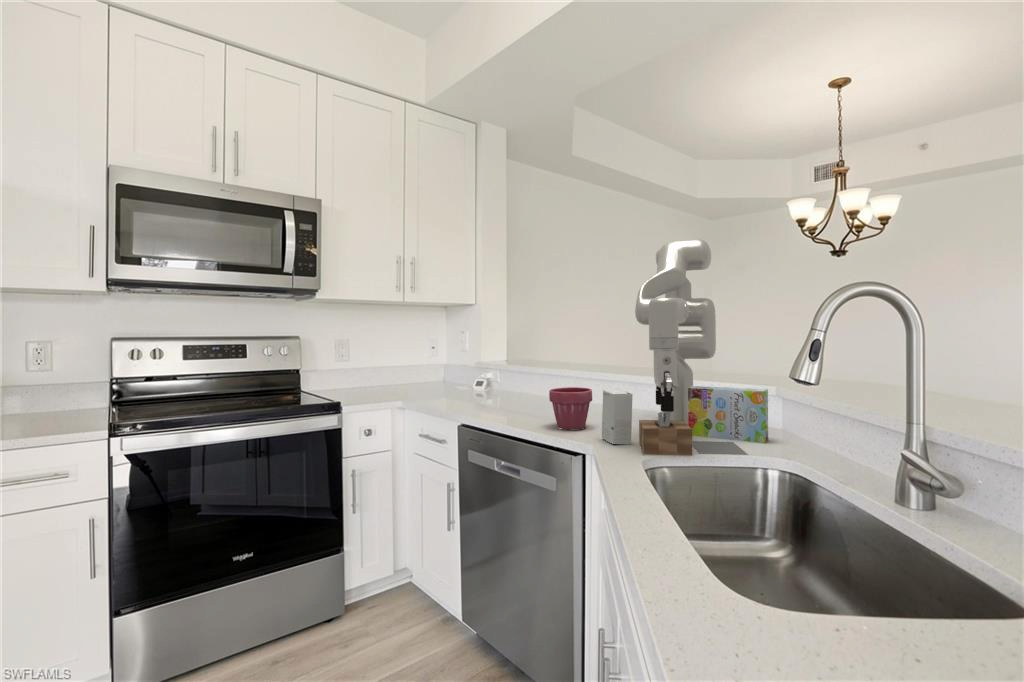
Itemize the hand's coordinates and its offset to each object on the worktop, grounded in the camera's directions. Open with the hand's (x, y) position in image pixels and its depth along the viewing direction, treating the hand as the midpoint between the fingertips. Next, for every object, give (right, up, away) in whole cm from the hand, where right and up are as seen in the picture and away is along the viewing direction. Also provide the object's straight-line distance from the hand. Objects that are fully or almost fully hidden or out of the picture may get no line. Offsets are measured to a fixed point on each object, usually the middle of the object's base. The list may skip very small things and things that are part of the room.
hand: (664, 407), depth 132 cm
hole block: (0, -11, 0) cm, 11 cm away
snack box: (+22, -11, +12) cm, 28 cm away
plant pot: (-21, -11, +32) cm, 40 cm away
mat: (+14, -11, 0) cm, 18 cm away
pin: (0, -11, 0) cm, 11 cm away
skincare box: (-11, -12, +11) cm, 19 cm away
